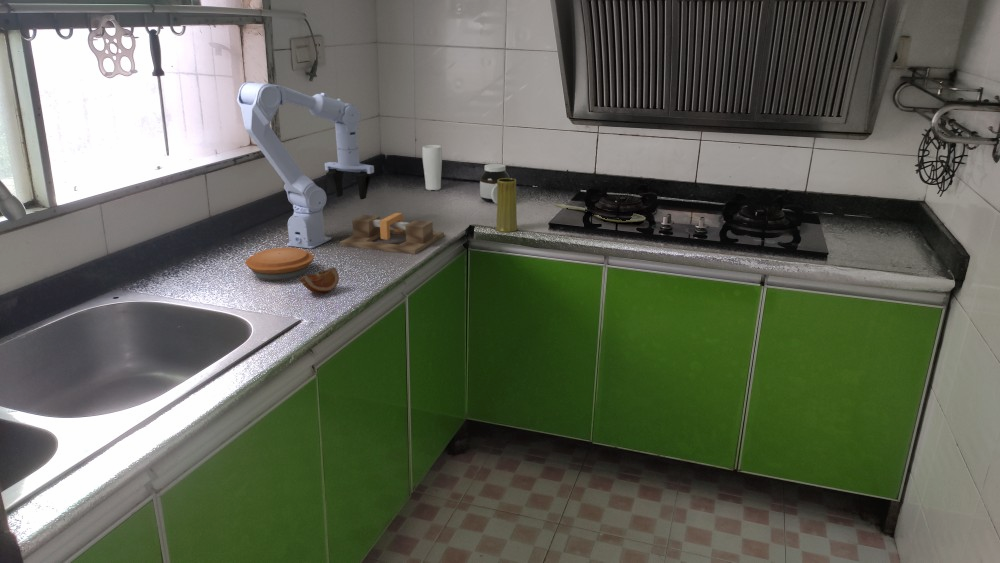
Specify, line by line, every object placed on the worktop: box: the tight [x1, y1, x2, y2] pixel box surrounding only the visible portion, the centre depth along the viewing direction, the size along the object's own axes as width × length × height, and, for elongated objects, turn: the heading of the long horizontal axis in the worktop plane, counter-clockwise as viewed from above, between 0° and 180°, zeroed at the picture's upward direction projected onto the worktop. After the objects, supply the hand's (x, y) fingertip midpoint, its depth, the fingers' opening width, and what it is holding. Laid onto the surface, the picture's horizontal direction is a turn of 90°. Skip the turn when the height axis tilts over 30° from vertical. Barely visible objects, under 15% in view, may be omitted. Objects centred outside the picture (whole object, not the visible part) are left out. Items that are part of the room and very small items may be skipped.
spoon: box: [555, 203, 646, 223], centre depth 225 cm, size 35×11×2 cm, turn 41°
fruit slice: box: [300, 267, 340, 295], centre depth 162 cm, size 8×7×5 cm
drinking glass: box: [421, 144, 443, 191], centre depth 257 cm, size 7×7×15 cm
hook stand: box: [339, 214, 445, 255], centre depth 199 cm, size 22×18×6 cm
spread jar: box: [479, 163, 510, 205], centre depth 239 cm, size 12×11×12 cm
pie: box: [244, 247, 314, 282], centre depth 174 cm, size 16×16×5 cm
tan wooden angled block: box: [380, 212, 404, 241], centre depth 198 cm, size 9×2×5 cm, turn 159°
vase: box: [495, 177, 518, 233], centre depth 208 cm, size 6×6×14 cm
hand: (351, 197), depth 205 cm, fingers open, 7 cm apart
